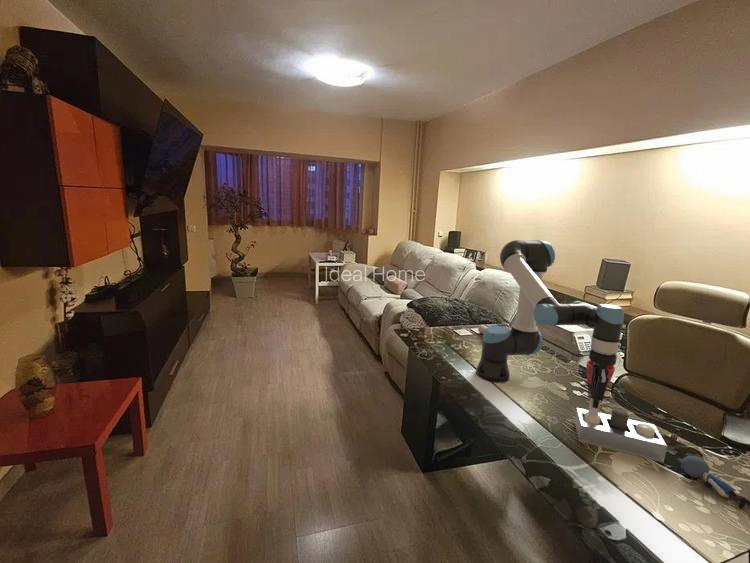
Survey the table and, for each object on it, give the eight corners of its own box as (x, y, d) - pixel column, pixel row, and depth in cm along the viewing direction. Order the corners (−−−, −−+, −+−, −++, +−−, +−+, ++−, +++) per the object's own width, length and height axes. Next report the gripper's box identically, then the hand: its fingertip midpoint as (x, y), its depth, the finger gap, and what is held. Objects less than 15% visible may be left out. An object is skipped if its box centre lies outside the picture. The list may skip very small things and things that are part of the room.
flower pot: (616, 391, 148) (620, 371, 147) (589, 388, 151) (592, 368, 149) (605, 380, 159) (608, 361, 157) (580, 377, 161) (583, 358, 159)
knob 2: (636, 445, 111) (639, 429, 109) (632, 437, 115) (635, 421, 114) (653, 449, 109) (657, 433, 108) (649, 441, 113) (652, 425, 112)
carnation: (486, 345, 220) (510, 355, 185) (468, 339, 219) (489, 348, 184) (491, 327, 220) (516, 334, 185) (474, 321, 220) (495, 327, 185)
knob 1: (583, 432, 117) (586, 417, 115) (581, 425, 121) (584, 410, 120) (599, 436, 115) (602, 420, 114) (596, 429, 119) (599, 413, 118)
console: (578, 441, 114) (581, 425, 113) (574, 422, 125) (576, 407, 124) (663, 462, 105) (667, 445, 104) (650, 440, 116) (654, 424, 115)
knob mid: (610, 430, 113) (613, 414, 112) (607, 423, 117) (610, 407, 116) (627, 434, 111) (630, 418, 110) (623, 426, 115) (626, 411, 114)
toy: (745, 512, 91) (684, 466, 104) (759, 495, 89) (695, 451, 103) (732, 512, 88) (671, 465, 102) (746, 494, 87) (682, 449, 100)
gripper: (622, 360, 105) (609, 427, 109) (612, 346, 116) (601, 407, 121) (593, 355, 108) (583, 421, 112) (587, 342, 119) (577, 402, 124)
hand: (592, 414), depth 117 cm, fingers closed
